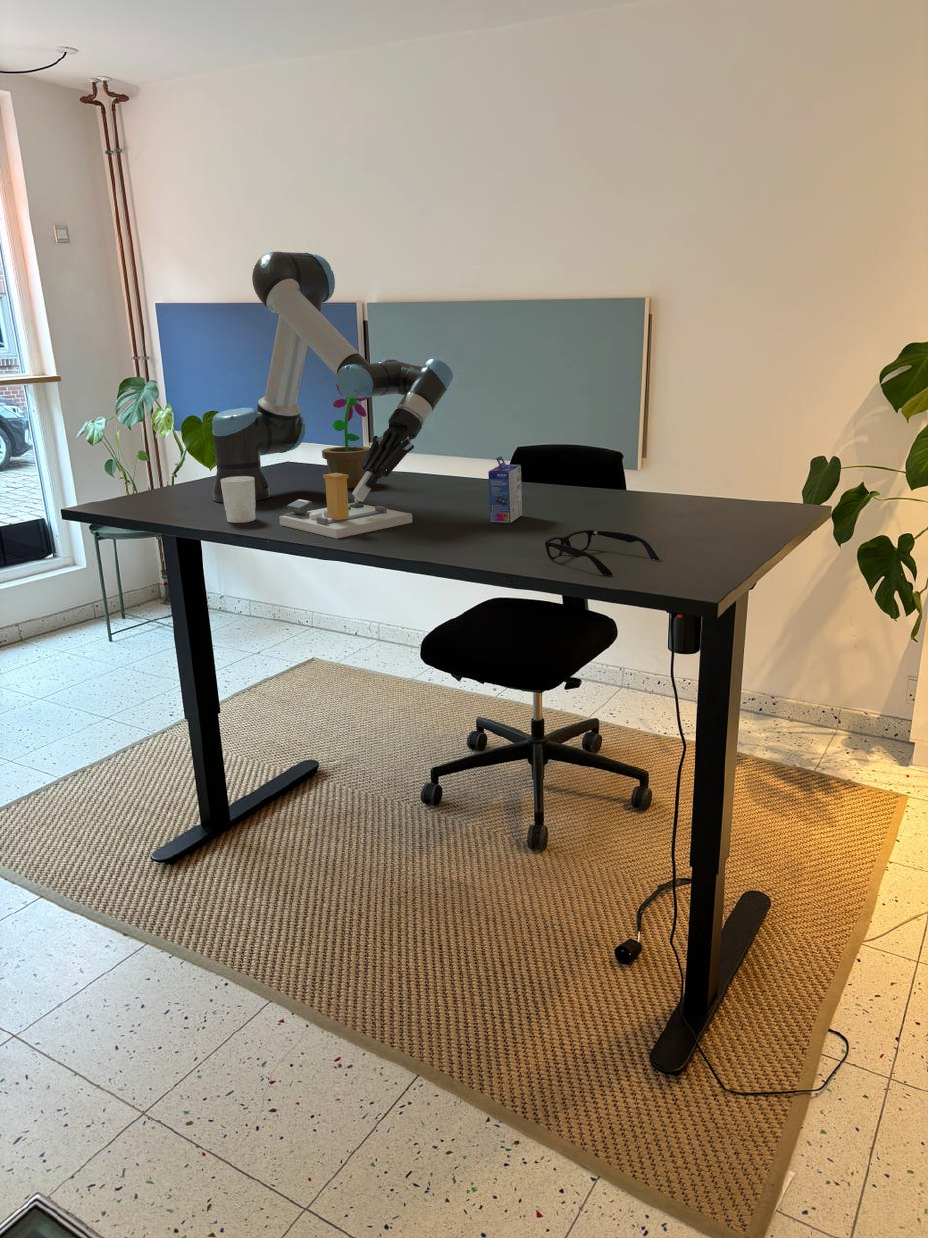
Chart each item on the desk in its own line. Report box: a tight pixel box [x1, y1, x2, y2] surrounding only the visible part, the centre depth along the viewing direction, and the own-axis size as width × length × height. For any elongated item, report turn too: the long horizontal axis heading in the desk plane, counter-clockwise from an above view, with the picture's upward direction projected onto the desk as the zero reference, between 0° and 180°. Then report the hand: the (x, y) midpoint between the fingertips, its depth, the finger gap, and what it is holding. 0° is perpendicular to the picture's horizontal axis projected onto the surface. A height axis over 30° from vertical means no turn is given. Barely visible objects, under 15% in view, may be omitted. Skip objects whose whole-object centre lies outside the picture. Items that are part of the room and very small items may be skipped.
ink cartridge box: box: [487, 456, 523, 524], centre depth 214 cm, size 10×6×14 cm, turn 161°
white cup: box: [220, 476, 256, 524], centre depth 220 cm, size 8×8×10 cm
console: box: [279, 497, 413, 539], centre depth 214 cm, size 22×22×4 cm
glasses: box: [544, 529, 660, 576], centre depth 177 cm, size 17×18×5 cm
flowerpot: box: [321, 383, 370, 489], centre depth 262 cm, size 14×14×30 cm
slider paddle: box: [322, 473, 349, 520], centre depth 206 cm, size 5×4×10 cm
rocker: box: [286, 498, 314, 513], centre depth 214 cm, size 5×4×2 cm
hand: (357, 497), depth 210 cm, fingers closed
